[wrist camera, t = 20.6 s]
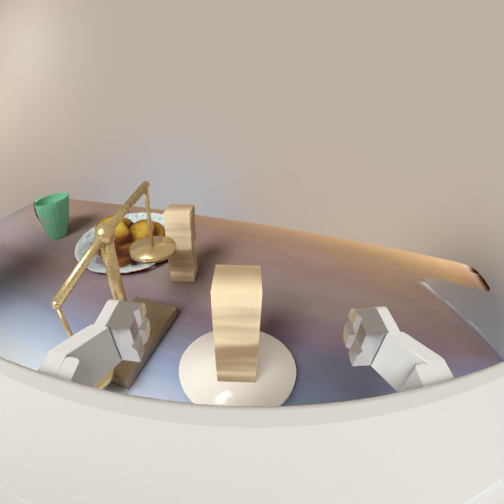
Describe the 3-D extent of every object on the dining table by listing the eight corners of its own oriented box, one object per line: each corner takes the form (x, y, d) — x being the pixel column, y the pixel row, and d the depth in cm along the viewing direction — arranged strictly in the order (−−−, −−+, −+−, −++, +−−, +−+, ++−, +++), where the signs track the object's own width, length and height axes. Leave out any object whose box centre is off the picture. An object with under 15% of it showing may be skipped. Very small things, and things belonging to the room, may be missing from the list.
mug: (82, 230, 63) (75, 193, 58) (55, 246, 55) (46, 207, 50) (53, 224, 67) (47, 191, 62) (29, 238, 59) (20, 203, 54)
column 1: (194, 281, 46) (189, 213, 41) (171, 280, 46) (163, 213, 40) (197, 269, 50) (194, 204, 44) (176, 268, 50) (170, 204, 44)
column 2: (255, 382, 28) (262, 292, 22) (217, 381, 28) (210, 290, 22) (254, 354, 31) (260, 265, 25) (220, 353, 31) (215, 264, 25)
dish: (226, 445, 22) (226, 440, 21) (160, 364, 31) (158, 356, 30) (317, 379, 30) (320, 371, 29) (245, 322, 38) (245, 314, 37)
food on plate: (209, 235, 63) (209, 207, 60) (133, 296, 43) (125, 260, 39) (130, 217, 71) (127, 194, 68) (57, 258, 51) (49, 231, 48)
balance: (108, 420, 23) (29, 270, 14) (64, 394, 24) (-10, 254, 15) (191, 296, 43) (182, 175, 34) (152, 287, 44) (137, 174, 35)
